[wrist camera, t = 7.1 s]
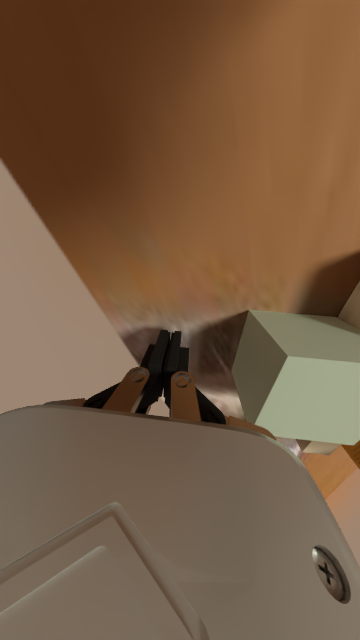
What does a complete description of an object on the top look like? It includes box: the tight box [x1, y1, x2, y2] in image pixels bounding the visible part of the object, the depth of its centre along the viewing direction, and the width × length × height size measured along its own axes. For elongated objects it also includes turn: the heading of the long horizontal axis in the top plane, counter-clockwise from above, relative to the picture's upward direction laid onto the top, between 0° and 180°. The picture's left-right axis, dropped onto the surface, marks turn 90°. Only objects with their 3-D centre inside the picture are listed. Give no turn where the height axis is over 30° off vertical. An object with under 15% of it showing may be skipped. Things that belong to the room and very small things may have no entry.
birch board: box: [296, 281, 360, 455], centre depth 12 cm, size 18×2×4 cm, turn 176°
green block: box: [231, 310, 360, 445], centre depth 12 cm, size 7×7×6 cm
